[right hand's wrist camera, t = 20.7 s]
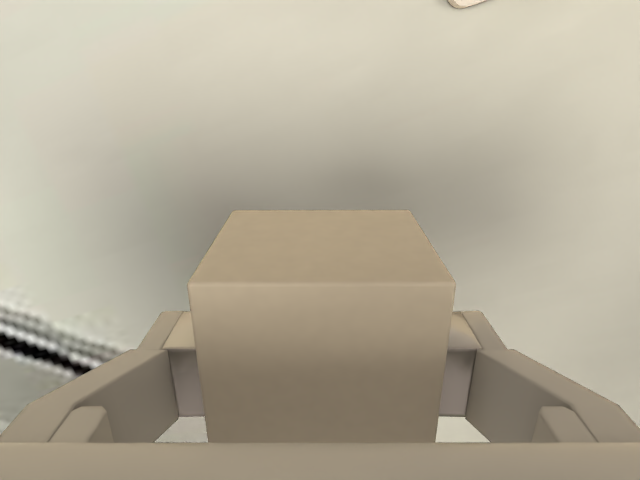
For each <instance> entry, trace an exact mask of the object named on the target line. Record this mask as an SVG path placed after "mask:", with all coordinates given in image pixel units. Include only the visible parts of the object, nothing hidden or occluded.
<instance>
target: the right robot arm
mask: <svg viewBox="0 0 640 480" xmlns="http://www.w3.org/2000/svg"><path fill="white" fill-rule="evenodd" d="M193 416H205V414H204V407H203V399H202V392H201V385H200V377H199V370H198V362H197V355H196V348H195V340H194V333H193V326H192V318H191V311H185V312H184V311H165V312H162V313H161V314H160V315H159V317H158V318H157V320H156V321H155V323H154V324H153V326H152V327H151V329H150V330H149V332H148V333H147V335H146V336H145V338H144V339H143V341H142V342H141V344H140V345H139V347H138V348H137V349H132V350H128V351H127V352H125V353H123V354H121V355H119V356H117V357H115V358H114V359H112V360H110V361H108V362H106V363H104V364H102V365H100V366H99V367H97V368H95V369H93V370H91V371H89V372H87V373H85V374H84V375H82V376H80V377H78V378H76V379H74V380H72V381H71V382H69V383H67V384H65V385H63V386H61V387H59V388H57V389H56V390H54V391H52V392H50V393H48V394H46V395H44V396H42V397H41V398H39V399H37V400H35V401H33V402H31V403H29V404H28V405H26V407H25V408H24V409H23V410H22V411H21V412H20V413H19V415H18V416H17V417H16V418H15V419H14V420H13V421H12V422H11V424H10V425H9V426H8V427H7V428H6V429H5V430H4V432H3V433H2V434H1V435H0V480H640V429H639V427H638V426H637V425H636V424H635V423H634V422H633V421H632V420H631V418H630V417H629V416H628V415H627V414H626V413H625V412H624V411H623V409H622V408H621V407H620V406H619V405H617V404H615V403H614V402H612V401H610V400H608V399H606V398H604V397H602V396H600V395H598V394H597V393H595V392H593V391H591V390H589V389H587V388H585V387H583V386H582V385H580V384H578V383H576V382H574V381H572V380H570V379H568V378H567V377H565V376H563V375H561V374H559V373H557V372H555V371H553V370H551V369H550V368H548V367H546V366H544V365H542V364H540V363H538V362H536V361H535V360H533V359H531V358H529V357H527V356H525V355H523V354H521V353H520V352H518V351H516V350H512V349H507V348H506V347H505V345H504V344H503V342H502V341H501V339H500V338H499V336H498V335H497V333H496V332H495V331H494V329H493V328H492V326H491V325H490V323H489V322H488V320H487V319H486V318H485V316H484V315H483V313H482V312H480V311H461V312H452V318H451V326H450V333H449V341H448V348H447V356H446V363H445V371H444V379H443V386H442V394H441V401H440V409H439V416H450V417H466V418H465V419H466V420H467V421H469V422H470V423H471V424H472V425H473V426H474V427H475V428H476V429H477V430H478V431H479V432H480V433H481V434H482V435H484V436H485V437H486V438H487V439H488V440H489V441H490V442H491V443H153V442H154V441H155V440H156V439H158V438H159V437H160V436H161V435H162V434H163V433H164V432H165V431H166V430H167V429H168V428H169V427H170V426H171V425H172V424H174V423H175V422H176V421H177V420H178V417H193Z"/></svg>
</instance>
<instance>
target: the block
mask: <svg viewBox="0 0 640 480" xmlns="http://www.w3.org/2000/svg"><path fill="white" fill-rule="evenodd" d="M455 288H456V284H455V281H454V280H453V278H452V276H451V275H450V273H449V272H448V270H447V268H446V267H445V265H444V264H443V262H442V261H441V259H440V257H439V256H438V254H437V253H436V251H435V250H434V248H433V246H432V245H431V243H430V242H429V240H428V239H427V237H426V235H425V234H424V232H423V231H422V229H421V228H420V226H419V224H418V223H417V221H416V220H415V218H414V217H413V215H412V213H411V212H410V211H409V210H234V211H232V213H231V214H230V216H229V218H228V219H227V221H226V222H225V224H224V226H223V227H222V229H221V230H220V232H219V234H218V235H217V237H216V238H215V240H214V242H213V243H212V245H211V246H210V248H209V249H208V251H207V253H206V254H205V256H204V257H203V259H202V261H201V262H200V264H199V265H198V267H197V269H196V270H195V272H194V273H193V275H192V277H191V278H190V280H189V281H188V284H187V289H188V296H189V304H190V311H191V318H192V326H193V333H194V340H195V348H196V355H197V362H198V370H199V377H200V385H201V392H202V399H203V407H204V414H205V421H206V429H207V436H208V443H435V439H436V432H437V424H438V416H439V409H440V401H441V394H442V386H443V379H444V371H445V363H446V356H447V348H448V341H449V333H450V326H451V318H452V310H453V303H454V295H455Z"/></svg>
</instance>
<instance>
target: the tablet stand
mask: <svg viewBox="0 0 640 480" xmlns="http://www.w3.org/2000/svg"><path fill="white" fill-rule="evenodd" d="M448 1H449V3H450V4H451V5H452V6H453V7H455V8H466V7H469V6H472V5H475V4H478V3H481V2H484V1H488V0H448Z"/></svg>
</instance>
